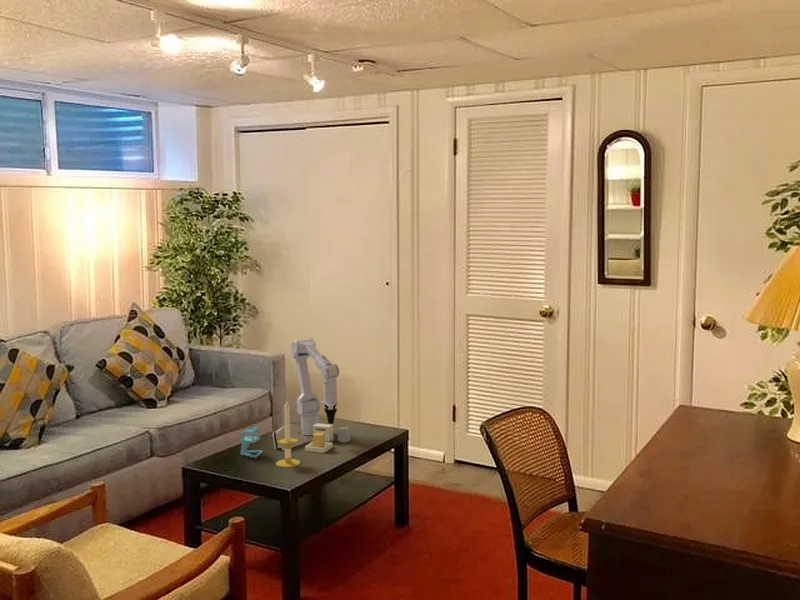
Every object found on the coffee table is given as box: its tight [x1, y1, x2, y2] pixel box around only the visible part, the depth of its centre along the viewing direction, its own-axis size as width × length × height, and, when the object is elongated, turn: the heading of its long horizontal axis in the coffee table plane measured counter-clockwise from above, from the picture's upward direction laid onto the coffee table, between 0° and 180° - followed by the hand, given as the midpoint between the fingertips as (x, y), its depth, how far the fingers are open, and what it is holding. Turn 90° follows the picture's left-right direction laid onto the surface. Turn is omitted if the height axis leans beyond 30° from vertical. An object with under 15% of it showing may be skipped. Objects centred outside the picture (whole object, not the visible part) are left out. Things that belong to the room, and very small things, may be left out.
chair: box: [239, 426, 264, 459], centre depth 338 cm, size 8×8×12 cm
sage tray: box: [304, 442, 334, 454], centre depth 345 cm, size 9×9×2 cm
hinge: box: [271, 423, 309, 452], centre depth 352 cm, size 17×5×10 cm, turn 144°
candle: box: [275, 400, 301, 468], centre depth 325 cm, size 10×10×27 cm
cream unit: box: [310, 422, 336, 443], centre depth 358 cm, size 6×9×7 cm, turn 69°
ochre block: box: [312, 432, 325, 448], centre depth 345 cm, size 4×4×6 cm
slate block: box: [337, 426, 351, 443], centre depth 357 cm, size 4×4×6 cm
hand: (330, 421), depth 353 cm, fingers open, 7 cm apart
